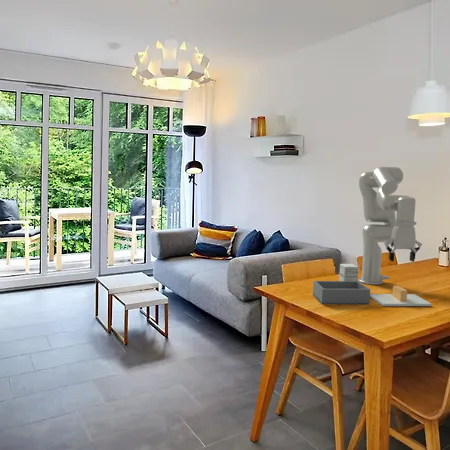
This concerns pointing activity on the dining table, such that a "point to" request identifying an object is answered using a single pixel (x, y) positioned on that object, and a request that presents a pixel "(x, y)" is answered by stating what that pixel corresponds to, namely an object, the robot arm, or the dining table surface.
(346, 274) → the supplement box
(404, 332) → the dining table surface
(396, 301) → the lid
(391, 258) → the robot arm
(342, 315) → the dining table surface
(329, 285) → the tub
